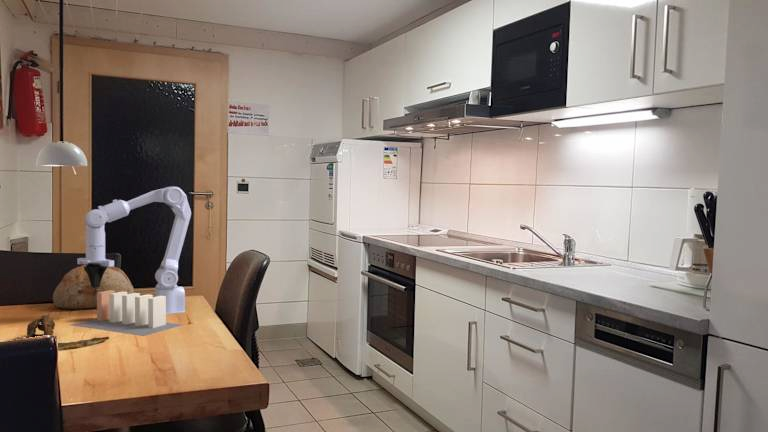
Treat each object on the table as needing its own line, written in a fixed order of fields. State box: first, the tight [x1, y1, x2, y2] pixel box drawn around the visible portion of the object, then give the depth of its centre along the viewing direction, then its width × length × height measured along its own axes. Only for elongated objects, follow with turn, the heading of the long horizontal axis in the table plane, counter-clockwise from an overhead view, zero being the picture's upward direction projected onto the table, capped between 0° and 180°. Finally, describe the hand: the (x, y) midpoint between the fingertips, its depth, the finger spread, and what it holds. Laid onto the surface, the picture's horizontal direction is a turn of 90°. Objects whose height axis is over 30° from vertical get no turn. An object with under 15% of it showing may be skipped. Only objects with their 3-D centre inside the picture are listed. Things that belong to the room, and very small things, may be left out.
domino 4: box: [135, 294, 154, 326], centre depth 180 cm, size 2×5×9 cm, turn 156°
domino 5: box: [148, 296, 167, 328], centre depth 177 cm, size 2×5×9 cm, turn 156°
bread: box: [52, 264, 135, 310], centre depth 211 cm, size 26×23×15 cm
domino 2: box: [109, 292, 127, 322], centre depth 184 cm, size 2×5×9 cm, turn 156°
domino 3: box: [122, 292, 141, 324], centre depth 182 cm, size 2×5×9 cm, turn 156°
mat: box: [70, 318, 183, 337], centre depth 179 cm, size 31×16×1 cm, turn 66°
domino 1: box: [96, 290, 115, 321], centre depth 186 cm, size 2×5×9 cm, turn 157°
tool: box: [25, 314, 110, 351], centre depth 155 cm, size 23×6×30 cm
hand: (95, 287), depth 188 cm, fingers closed
